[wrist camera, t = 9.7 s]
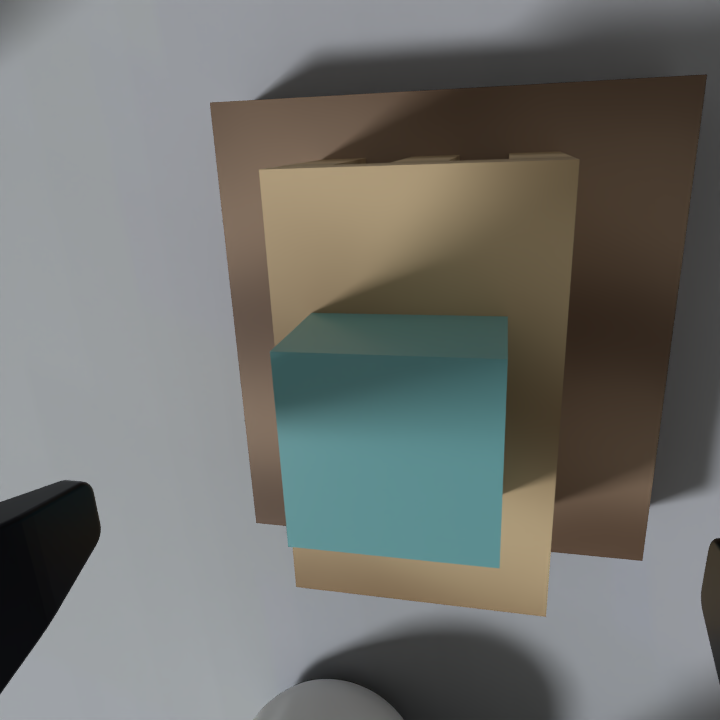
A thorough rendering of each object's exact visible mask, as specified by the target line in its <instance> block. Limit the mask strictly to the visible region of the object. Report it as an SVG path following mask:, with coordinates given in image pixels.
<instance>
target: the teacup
mask: <svg viewBox="0 0 720 720" xmlns="http://www.w3.org/2000/svg"><path fill="white" fill-rule="evenodd" d="M253 720H404V719H403V718H402V717H401V715H400V714H399V713H398V712H397V711H396V710H395V708H394V707H393V706H391V705H390V704H389V703H388V702H387V701H386V700H385V699H383V698H382V697H381V696H379V695H378V694H376V693H374V692H373V691H371V690H369V689H367V688H365V687H363V686H360V685H357V684H355V683H351V682H348V681H343V680H337V679H317V680H311V681H306V682H303V683H300V684H297V685H295V686H293V687H291V688H289V689H287V690H285V691H283V692H282V693H280V694H279V695H277V696H276V697H275V698H273V699H272V700H271V701H270V702H269V703H267V704H266V705H265V706H264V707H263V708H262V709H261V711H260V712H259V713H258V714H257V715H256V717H255V718H254V719H253Z"/></svg>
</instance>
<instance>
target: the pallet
mask: <svg viewBox="0 0 720 720" xmlns="http://www.w3.org/2000/svg"><path fill="white" fill-rule="evenodd" d="M579 161H580V159H577V158H575V157H572V156H570V155H567V154H565V153H562V152H533V153H509V159H491V160H461V161H460V155H446V156H416V157H409V158H405V159H402V160H398V161H394V162H391V163H368V164H366V158H358V159H329V160H317V161H310V162H304V163H298V164H291V165H285V166H279V167H272V168H266V169H260V170H259V177H260V188H261V199H262V210H263V221H264V232H265V244H266V255H267V266H268V277H269V288H270V299H271V311H272V322H273V333H274V344H275V346H276V345H277V344H278V343H280V342H281V341H282V340H283V339H284V338H285V337H286V336H287V335H288V334H289V333H290V332H291V331H292V330H293V329H295V328H296V327H297V326H298V325H299V324H300V323H301V322H302V321H303V320H304V319H305V318H306V317H307V316H309V315H310V314H311V313H344V314H399V315H454V316H508V367H507V392H506V418H505V443H504V469H503V495H502V520H501V546H500V568H490V567H480V566H471V565H461V564H451V563H441V562H432V561H422V560H412V559H403V558H393V557H383V556H374V555H364V554H354V553H345V552H335V551H325V550H316V549H306V548H296V547H293V556H294V567H295V578H296V587H302V588H310V589H318V590H327V591H335V592H343V593H352V594H360V595H369V596H377V597H385V598H394V599H402V600H410V601H419V602H427V603H436V604H444V605H452V606H461V607H469V608H477V609H486V610H494V611H503V612H511V613H519V614H528V615H536V616H544V617H546V608H547V594H548V581H549V567H550V554H551V540H552V527H553V513H554V500H555V486H556V472H557V459H558V445H559V432H560V418H561V405H562V391H563V378H564V364H565V351H566V337H567V323H568V310H569V296H570V283H571V269H572V256H573V242H574V229H575V215H576V202H577V188H578V175H579Z"/></svg>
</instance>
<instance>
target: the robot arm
mask: <svg viewBox="0 0 720 720" xmlns="http://www.w3.org/2000/svg"><path fill="white" fill-rule="evenodd" d="M100 532H101V526H100V520H99V516H98V511H97V506H96V501H95V497H94V492H93V489H92V487H91V486H90V485H89V484H88V483H86V482H81V481H70V480H63V481H59V482H56V483H54V484H51V485H48V486H45V487H42V488H39V489H36V490H34V491H31V492H28V493H25V494H22V495H19V496H16V497H13V498H11V499H8V500H5V501H2V502H0V694H1V692H2V691H3V690H4V688H5V687H6V685H7V684H8V683H9V681H10V680H11V678H12V677H13V676H14V674H15V673H16V671H17V670H18V669H19V667H20V666H21V664H22V663H23V662H24V660H25V659H26V657H27V656H28V655H29V653H30V652H31V650H32V649H33V648H34V646H35V645H36V643H37V642H38V641H39V639H40V638H41V636H42V635H43V633H44V632H45V630H46V629H47V627H48V626H49V624H50V623H51V621H52V619H53V618H54V616H55V615H56V613H57V611H58V610H59V608H60V606H61V604H62V603H63V601H64V599H65V598H66V596H67V594H68V592H69V591H70V589H71V587H72V586H73V584H74V582H75V580H76V579H77V577H78V575H79V574H80V572H81V570H82V568H83V567H84V565H85V563H86V562H87V560H88V558H89V556H90V555H91V553H92V551H93V550H94V548H95V546H96V544H97V542H98V540H99V537H100ZM701 604H702V611H703V615H704V619H705V624H706V628H707V632H708V636H709V641H710V645H711V649H712V653H713V658H714V662H715V666H716V671H717V675H718V679H719V683H720V538H716V539H714V540H713V541H712V542H711V544H710V546H709V550H708V556H707V562H706V567H705V573H704V578H703V584H702V590H701Z"/></svg>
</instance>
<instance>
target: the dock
mask: <svg viewBox="0 0 720 720" xmlns="http://www.w3.org/2000/svg"><path fill="white" fill-rule="evenodd" d="M706 79H707V75H689V76H671V77H654V78H636V79H618V80H601V81H583V82H565V83H548V84H530V85H512V86H495V87H477V88H460V89H442V90H424V91H407V92H389V93H371V94H354V95H336V96H318V97H301V98H283V99H265V100H248V101H230V102H212V103H210V108H211V117H212V126H213V135H214V144H215V153H216V162H217V171H218V180H219V189H220V198H221V207H222V216H223V225H224V234H225V243H226V252H227V261H228V270H229V279H230V289H231V298H232V307H233V316H234V325H235V334H236V343H237V352H238V361H239V370H240V379H241V388H242V397H243V406H244V415H245V424H246V433H247V442H248V451H249V460H250V469H251V478H252V488H253V497H254V506H255V515H256V523H262V524H272V525H283V526H286V516H285V506H284V495H283V485H282V474H281V464H280V453H279V443H278V432H277V422H276V411H275V401H274V390H273V379H272V369H271V358H270V351H271V350H272V349H273V348H274V347H275V344H274V333H273V322H272V311H271V299H270V288H269V277H268V266H267V255H266V244H265V232H264V221H263V210H262V199H261V188H260V177H259V170H260V169H266V168H272V167H279V166H285V165H291V164H298V163H304V162H310V161H317V160H329V159H358V158H366V164H368V163H391V162H394V161H398V160H402V159H405V158H409V157H416V156H446V155H460V161H461V160H491V159H509V153H533V152H562V153H565V154H567V155H570V156H572V157H575V158H577V159H580V161H579V175H578V188H577V202H576V215H575V229H574V242H573V256H572V269H571V283H570V296H569V310H568V323H567V337H566V351H565V364H564V378H563V391H562V405H561V418H560V432H559V445H558V459H557V472H556V486H555V500H554V513H553V527H552V540H551V552H558V553H568V554H578V555H589V556H599V557H609V558H619V559H629V560H640V561H642V559H643V552H644V544H645V537H646V529H647V522H648V514H649V507H650V499H651V492H652V484H653V477H654V469H655V462H656V454H657V447H658V439H659V431H660V424H661V416H662V409H663V401H664V394H665V386H666V379H667V371H668V364H669V356H670V349H671V341H672V334H673V326H674V319H675V311H676V304H677V296H678V289H679V281H680V274H681V266H682V259H683V251H684V244H685V236H686V229H687V221H688V214H689V206H690V199H691V191H692V184H693V176H694V169H695V161H696V154H697V146H698V139H699V131H700V124H701V116H702V109H703V101H704V94H705V86H706Z"/></svg>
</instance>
